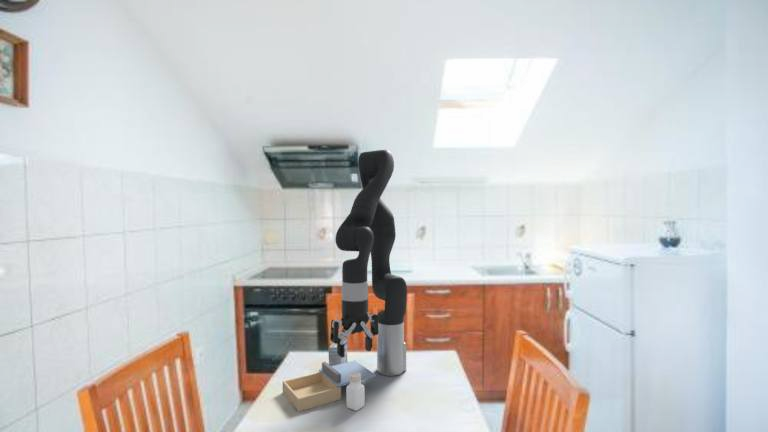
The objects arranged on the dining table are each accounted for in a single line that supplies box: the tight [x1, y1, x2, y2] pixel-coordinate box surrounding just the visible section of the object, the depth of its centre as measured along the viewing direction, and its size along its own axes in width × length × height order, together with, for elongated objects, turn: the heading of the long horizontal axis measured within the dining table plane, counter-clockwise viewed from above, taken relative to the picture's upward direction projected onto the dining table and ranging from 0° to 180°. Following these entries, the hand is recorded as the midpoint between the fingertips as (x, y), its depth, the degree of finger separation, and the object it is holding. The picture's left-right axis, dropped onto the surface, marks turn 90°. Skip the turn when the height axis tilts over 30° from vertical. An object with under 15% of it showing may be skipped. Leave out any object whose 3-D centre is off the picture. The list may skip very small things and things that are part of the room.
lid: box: [318, 360, 376, 387], centre depth 130 cm, size 13×13×3 cm
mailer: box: [282, 371, 342, 412], centre depth 124 cm, size 13×13×4 cm
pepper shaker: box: [346, 372, 366, 411], centre depth 117 cm, size 4×4×10 cm
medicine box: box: [328, 339, 348, 366], centre depth 144 cm, size 8×4×9 cm, turn 168°
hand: (355, 353), depth 117 cm, fingers open, 8 cm apart
